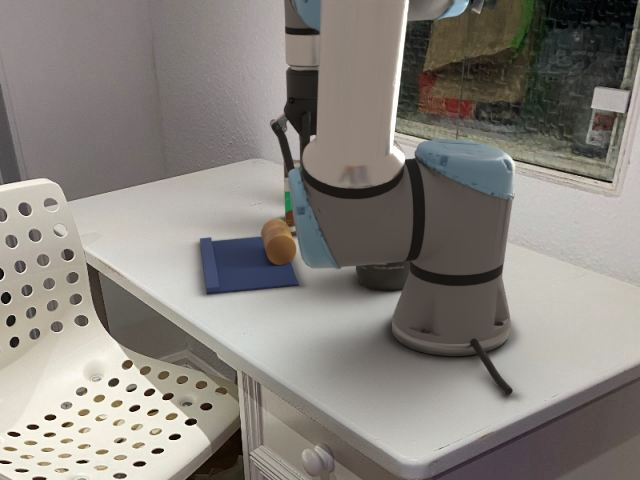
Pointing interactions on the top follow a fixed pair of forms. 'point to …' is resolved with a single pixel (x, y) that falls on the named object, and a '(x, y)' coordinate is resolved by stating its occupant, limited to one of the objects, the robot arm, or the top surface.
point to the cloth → (242, 266)
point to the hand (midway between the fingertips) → (314, 229)
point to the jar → (384, 275)
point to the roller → (278, 242)
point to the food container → (289, 201)
